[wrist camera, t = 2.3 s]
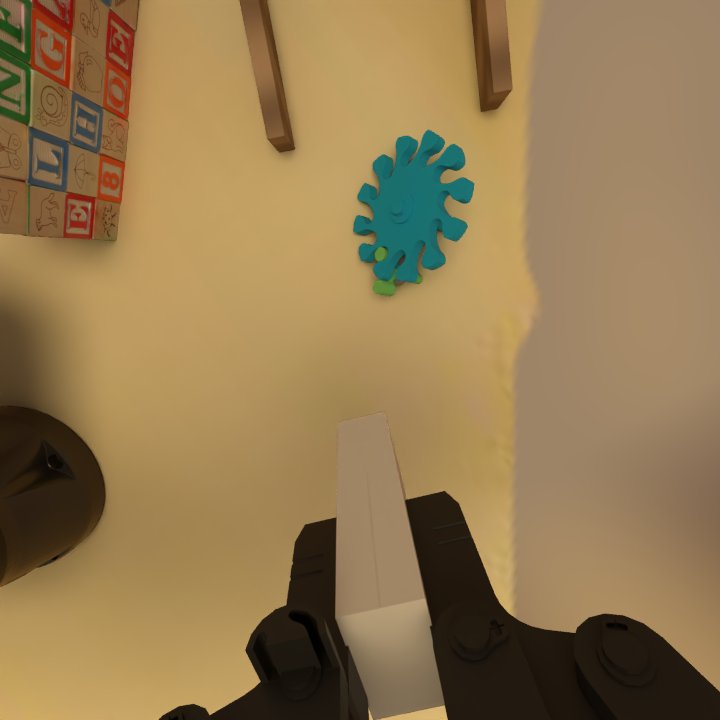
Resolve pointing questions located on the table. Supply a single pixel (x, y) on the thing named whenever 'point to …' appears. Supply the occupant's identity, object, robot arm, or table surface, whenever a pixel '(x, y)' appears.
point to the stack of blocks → (64, 115)
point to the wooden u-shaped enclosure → (258, 27)
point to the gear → (411, 210)
